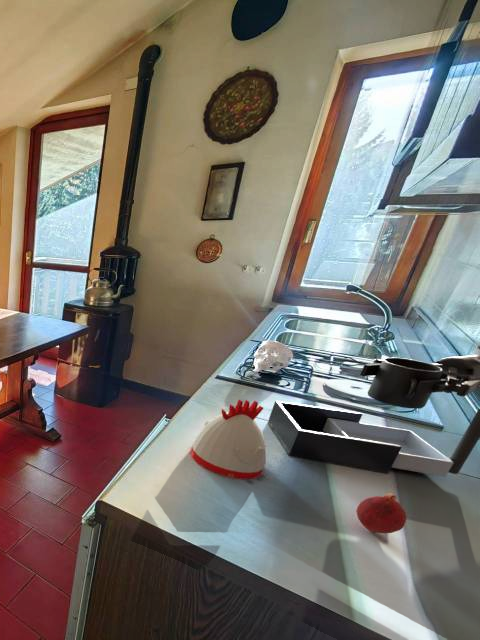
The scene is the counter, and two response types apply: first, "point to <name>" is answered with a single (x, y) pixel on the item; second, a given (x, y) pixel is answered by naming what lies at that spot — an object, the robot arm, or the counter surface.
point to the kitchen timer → (232, 443)
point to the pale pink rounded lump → (272, 356)
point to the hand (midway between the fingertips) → (390, 378)
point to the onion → (381, 514)
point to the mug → (402, 382)
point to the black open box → (327, 438)
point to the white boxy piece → (411, 445)
